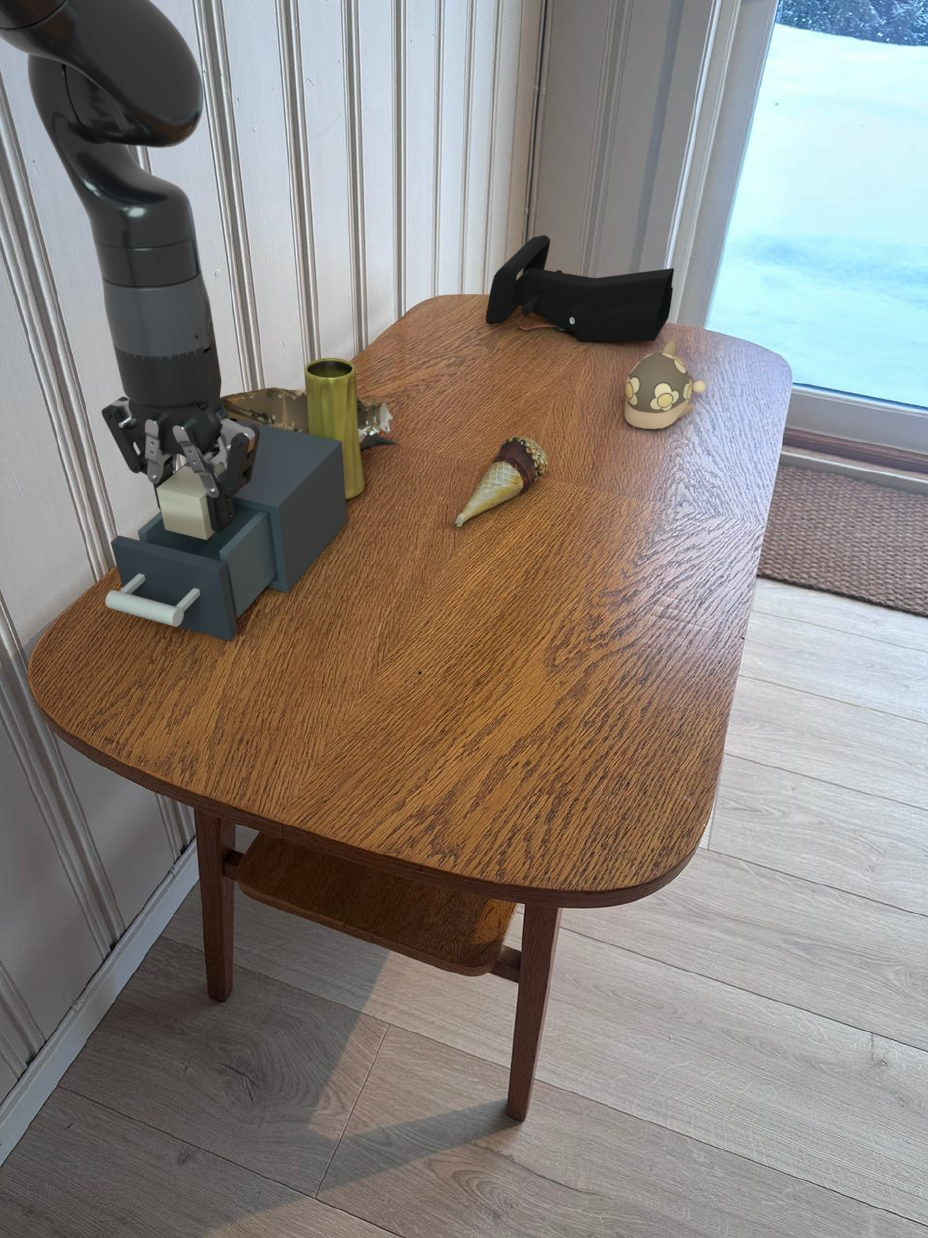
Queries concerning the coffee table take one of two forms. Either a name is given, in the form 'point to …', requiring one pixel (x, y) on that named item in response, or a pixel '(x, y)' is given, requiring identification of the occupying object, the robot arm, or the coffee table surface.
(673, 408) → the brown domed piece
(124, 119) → the robot arm
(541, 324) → the knife
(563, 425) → the coffee table surface
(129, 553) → the drawer
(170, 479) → the block
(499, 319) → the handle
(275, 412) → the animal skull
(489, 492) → the ice cream cone
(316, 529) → the cabinet
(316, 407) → the vase
